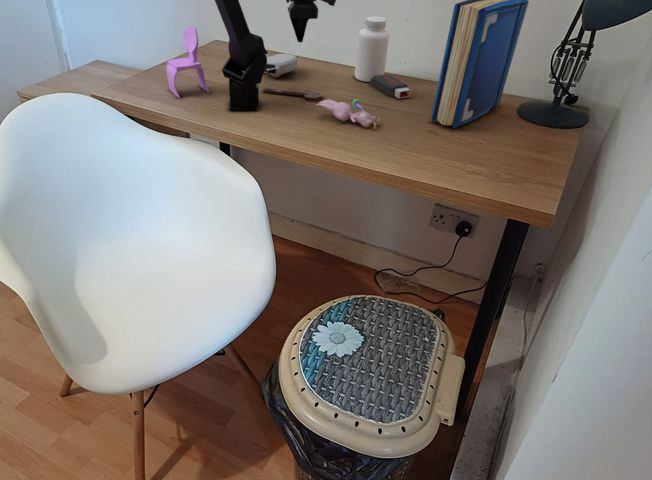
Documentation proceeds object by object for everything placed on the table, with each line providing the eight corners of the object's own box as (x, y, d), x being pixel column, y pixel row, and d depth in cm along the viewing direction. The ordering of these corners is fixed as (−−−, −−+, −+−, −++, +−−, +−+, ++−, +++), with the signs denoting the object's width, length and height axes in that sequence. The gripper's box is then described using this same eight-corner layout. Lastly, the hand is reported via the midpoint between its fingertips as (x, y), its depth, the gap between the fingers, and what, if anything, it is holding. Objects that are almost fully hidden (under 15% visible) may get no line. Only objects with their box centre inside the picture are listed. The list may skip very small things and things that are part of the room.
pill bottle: (382, 84, 141) (390, 23, 131) (352, 81, 142) (358, 21, 132) (384, 74, 147) (392, 15, 137) (355, 72, 148) (361, 13, 138)
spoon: (260, 94, 133) (260, 90, 132) (266, 89, 136) (266, 84, 136) (318, 102, 130) (319, 97, 129) (323, 96, 133) (323, 91, 132)
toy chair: (166, 89, 135) (158, 26, 126) (198, 83, 139) (193, 22, 129) (178, 99, 130) (170, 35, 120) (211, 93, 133) (206, 30, 124)
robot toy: (235, 76, 146) (281, 82, 139) (234, 59, 143) (280, 64, 137) (260, 64, 154) (304, 70, 148) (259, 48, 152) (304, 53, 145)
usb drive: (386, 82, 142) (388, 71, 140) (412, 97, 133) (414, 86, 131) (370, 84, 140) (371, 74, 138) (395, 100, 131) (396, 89, 130)
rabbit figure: (379, 128, 121) (321, 105, 125) (387, 103, 117) (327, 81, 121) (370, 138, 117) (310, 114, 121) (377, 113, 113) (315, 89, 117)
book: (477, 99, 133) (504, -12, 117) (503, 107, 129) (534, -7, 113) (428, 122, 121) (451, 2, 105) (455, 132, 117) (484, 8, 101)
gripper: (343, -24, 111) (337, 53, 121) (332, -39, 126) (328, 31, 136) (290, -24, 111) (289, 53, 121) (286, -39, 125) (285, 31, 135)
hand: (300, 42), depth 128 cm, fingers closed
